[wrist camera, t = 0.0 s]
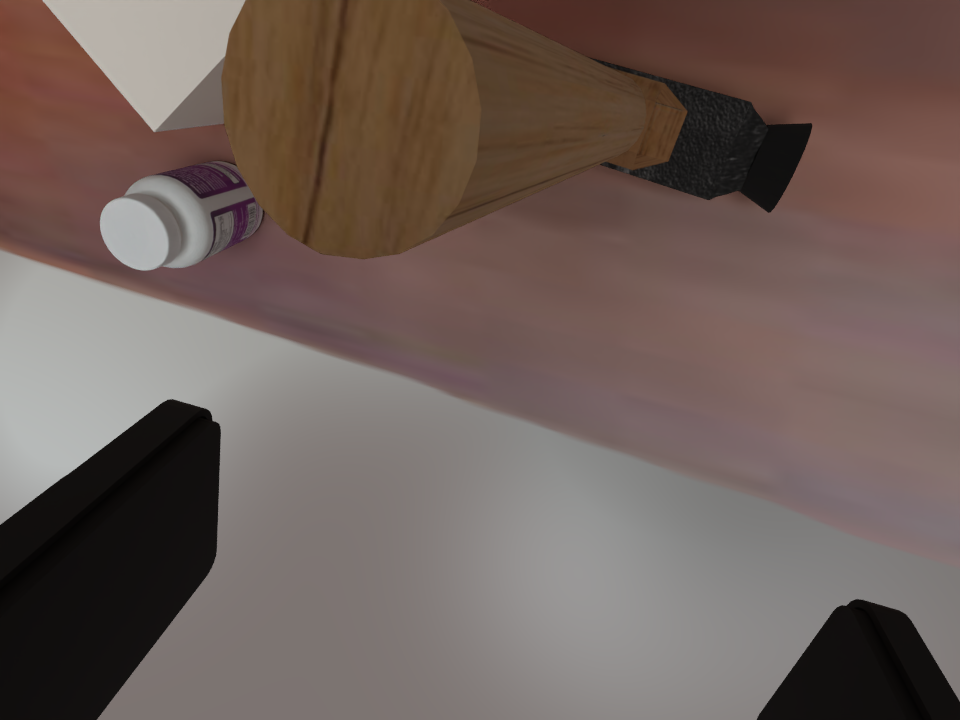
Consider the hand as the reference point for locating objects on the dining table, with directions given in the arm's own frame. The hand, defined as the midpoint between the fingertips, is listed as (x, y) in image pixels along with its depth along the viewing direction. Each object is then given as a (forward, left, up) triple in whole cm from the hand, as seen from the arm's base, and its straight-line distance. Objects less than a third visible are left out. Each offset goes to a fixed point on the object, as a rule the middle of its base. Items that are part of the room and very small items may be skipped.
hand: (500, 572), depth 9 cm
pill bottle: (+19, -13, -31) cm, 39 cm away
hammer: (-4, -3, -32) cm, 32 cm away
